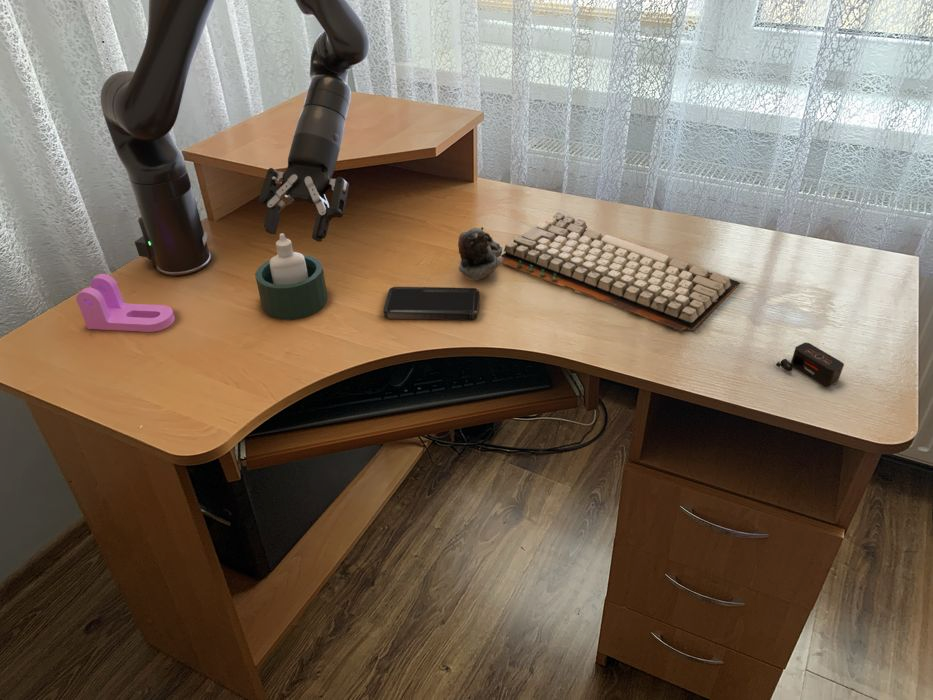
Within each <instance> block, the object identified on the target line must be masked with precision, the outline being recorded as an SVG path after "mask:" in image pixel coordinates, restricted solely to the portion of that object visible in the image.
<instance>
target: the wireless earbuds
mask: <svg viewBox="0 0 933 700" xmlns="http://www.w3.org/2000/svg"><path fill="white" fill-rule="evenodd" d="M775 366H776V367H778V368H782V369H783V370H784V371H786V372H792V371H793V370H794V369H795V370H796V371H798V372H799V373H801V374H803V375H805V376H806V377H808V378H809V379H811V380H813V382H816V383H818V384H819V385H821V386H822V387H824V388H829V387H831V386H833V385H834V384H837V383H838V382H839V380H840V377H841V374H842V373H843V372H842V371H843V369H844V367H845V364H844V362H843V361H841V360H839V359H838V358H836V357H834V356H832V355H831V354H829V353H827V352H825V351H823V350H822V349H821V348H818V347H817V346H815V345H813V344H812V343H810V342H803V343H801V344H799V345H796V346H795V348H794V351H793V355H792V358H791V361H789V360H788V359H787V358H783V359H782V360H781V361H778V362H777V363H775Z"/></svg>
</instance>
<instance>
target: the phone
mask: <svg viewBox="0 0 933 700" xmlns="http://www.w3.org/2000/svg"><path fill="white" fill-rule="evenodd" d="M479 305H480V290H479V288H477V287H444V286H443V287H441V286H439V287H438V286H392V287H390V288H389V289H388V292H387V295H386V299H385V302H384V306H383V316H384V317H385V318H387V319H398V320H399V319H405V320H449V321H451V320H452V321H461V320H462V321H472V320H475V319H477V318H478V312H479Z"/></svg>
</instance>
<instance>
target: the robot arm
mask: <svg viewBox="0 0 933 700" xmlns="http://www.w3.org/2000/svg"><path fill="white" fill-rule="evenodd" d="M216 1H217V0H148V21H147V22H148V24H147V35H146V39H145V44H144V47H143V50H142V53H141V56H140V58H139V61H138V63H137V65H136V68H135V70H134V71H131V70H122V71H118V72H115V73H113V74H112V75H110V76H109V77H107V79H106V80H105V81H104V83H103V84H102V86H101V87H102V88H101V91H100V106H101V110H102V114H103V118H104V121H105V124H106V127H107V130H108V133H109V135H110V138H111V141H112V144H113V146H114V149H115V151H116V154H117V156H118V159H119V160H120V162H121V164H122V165H123V167H124V169H125V171H126V174H127V177H128V179H129V182H130V186H131V188H132V192H133V195H134V197H135V200H136V204H137V207H138V210H139V213H140V217H138V224H139V225H138V226H139V228H140V230H141V233H142V236H141V237H139V238H138V239H136V240H134V245H135V248H136V251H137V254H138V256H139V257H142V258H147V260H149V261H151V264H152V267H153V268H156V269H157V271H158V272H159V273H161V274H163V275H166V276H171V277H172V276H173V277H175V276H187V275H190V274H193V273H197V272H199V271H201V270H203V269H204V268H205V267H207V266H208V265H209V264H210V263H211V261H212V255H211V252H210V250H209V246H208V243H207V239H208V234H207V230H204V228H203V224H202V220H201V216H200V213H199V208H198V205H197V202H196V197H195V194H194V190H193V187H192V183H191V178H190V176H189V175H190V174H189V172H188V169H187V164H186V162H185V157H184V154H183V153H182V151H181V150H180V148H179V147H178V146H177V145H176V142H175V141H174V139H173V137H172V136H171V133H170V131H171V130H172V129H173V127H174V126H175V124H176V122H177V120H178V116H179V112H180V109H181V105H182V101H183V97H184V93H185V89H186V85H187V81H188V77H189V73H190V70H191V66H192V63H193V60H194V58H195V55H196V53H197V50H198V48H199V45H200V42H201V39H202V37H203V34H204V31H205V29H206V26H207V23H208V20H209V18H210V16H211V13H212V11H213V8H214V7H215V3H216ZM294 2H295V4H296V6H297V8H298V9H299V11H300V12H301V14H302V15H304V17H305V16H306V17H314V18H315V19H316V21H317V22H318V24H319V25H320V26H321V28H322V29H323V30H322V31H321V32H320V33H319V35H318V36H317V37H316V38H315V41H314V43H313V46H312V49H311V53H310V63H309V84H308V87H307V90H306V94H305V99H304V102H303V106H302V109H301V111H300V115H299V116H298V119H297V122H296V125H295V130H294V134H293V137H292V142H291V145H290V149H289V154H288V157H287V167H286V169H285V170H284V171H279V170H276V169H275V168H273V167H269V168H268V169H267V170H266V171H267V172H266V174H265V178H264V181H263V184H262V186H261V189H260V193H259V196H258V202H260V203H261V204H262V205H263V206H265V207H266V208H267V211H266V216H265V220H264V222H263V227H264V229H265V232H266V233H268V234H269V235H276V234H277V232H278V231H277V230H278V227H279V223H280V219H281V215H282V213H280V212H281V211H282V210H283V209H285V208H286V207H287V206H289V205H291V204H292V203H293V202H298V203H299V202H300V203H304V202H306V203H309V204H314V205H315V208H316V209H317V212H318V215H316V219H315V222H314V226H313V230H312V235H311V238H312V240H314V241H315V242H319V243H320V242H321V243H322V241H323V239H326V237H327V234H328V230H329V226H330V223H331V220H332V219H334V218H339V219H341V218H342V217H343V216H344V213H345V208H346V203H347V197H348V192H349V187H350V184H349V182H347V181H346V180H345V178H343V177H342V176H337V177H336V178H333V175H334V173H335V171H336V166H337V162H338V159H339V154H340V151H341V146H342V143H343V138H344V133H345V125H346V120H347V116H348V112H349V108H350V104H351V100H352V99H351V98H352V91H351V87H350V85H349V84H348V83H347V80H348V79H347V78H348V74H349V72H350V70H351V69H352V68H355V67H356V66H358V65H359V64H361V63H363V62H364V61H365V60H366V59H367V57H368V56H369V53H370V49H371V43H370V37H369V34H368V31H367V28H366V26H365V24H364V22H363V21H362V19H361V18H360V16H359V15H358V13H357V12H356V11H355V10H354V8H353V7H352V6H351V4H350V3H349V1H348V0H294ZM282 183H283V185H282ZM280 185H281V186H280ZM330 189H331V190H332V191H333V192H332V196H331V201H330V203H329V201H328V199H327V197H326V193H327V192H329V190H330Z"/></svg>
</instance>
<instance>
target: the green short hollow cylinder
mask: <svg viewBox="0 0 933 700" xmlns="http://www.w3.org/2000/svg"><path fill="white" fill-rule="evenodd" d="M302 255H303V256H304V258H305V262H306V267H307V273H308V279H306V280H304V281H301V282H298V283H295V284H289V285H277V284H274V283H273V279H272V274H271V269H270V263H269V262H270V259H269V260H267V261H265V262H263V263H262V264H261V265H259V266H258V267H257V269H256V271H255V273H254V274H255V281H256V285H257V290H258V294H259V298H260V304H261V307H262V309H263V311H264V313H265V314H266V315H268V316H269V317H271V318H273V319H277V320H283V321H285V320H287V321H291V320H299V319H300V320H301V319H304V318H307V317H310V316H313V315H314V314H316V313H319V311H320V310H322V309H323V308H324V307H325V306H326V304H327V302H328V293H327V292H328V291H327V286H326V279H325V275H324V274H325V273H324V269H323V264H322V262H321V261H320V260H319V259H318V258H316V257H314V256H311V255H308V254H307V255H306V254H302Z"/></svg>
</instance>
